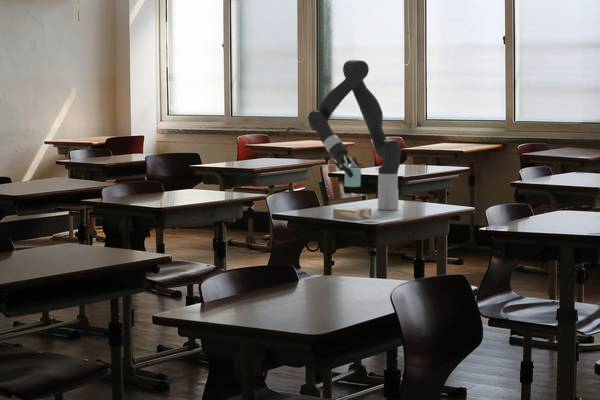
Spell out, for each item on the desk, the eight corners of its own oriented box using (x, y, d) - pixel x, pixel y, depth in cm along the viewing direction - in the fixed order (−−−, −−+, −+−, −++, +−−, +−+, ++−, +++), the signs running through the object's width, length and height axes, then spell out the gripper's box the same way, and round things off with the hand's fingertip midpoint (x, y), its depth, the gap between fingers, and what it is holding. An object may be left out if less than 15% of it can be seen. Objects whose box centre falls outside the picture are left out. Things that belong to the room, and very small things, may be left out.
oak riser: (350, 215, 451) (350, 206, 451) (371, 217, 443) (371, 208, 443) (332, 217, 442) (333, 208, 442) (354, 220, 434) (354, 210, 434)
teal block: (351, 185, 445) (351, 167, 444) (360, 186, 442) (360, 168, 441) (344, 186, 441) (344, 168, 440) (353, 187, 438) (353, 168, 437)
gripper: (329, 142, 439) (350, 171, 432) (350, 141, 450) (371, 169, 443) (320, 153, 443) (340, 182, 436) (341, 152, 454) (361, 180, 447)
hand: (355, 175), depth 440 cm, fingers closed on teal block, 5 cm apart
